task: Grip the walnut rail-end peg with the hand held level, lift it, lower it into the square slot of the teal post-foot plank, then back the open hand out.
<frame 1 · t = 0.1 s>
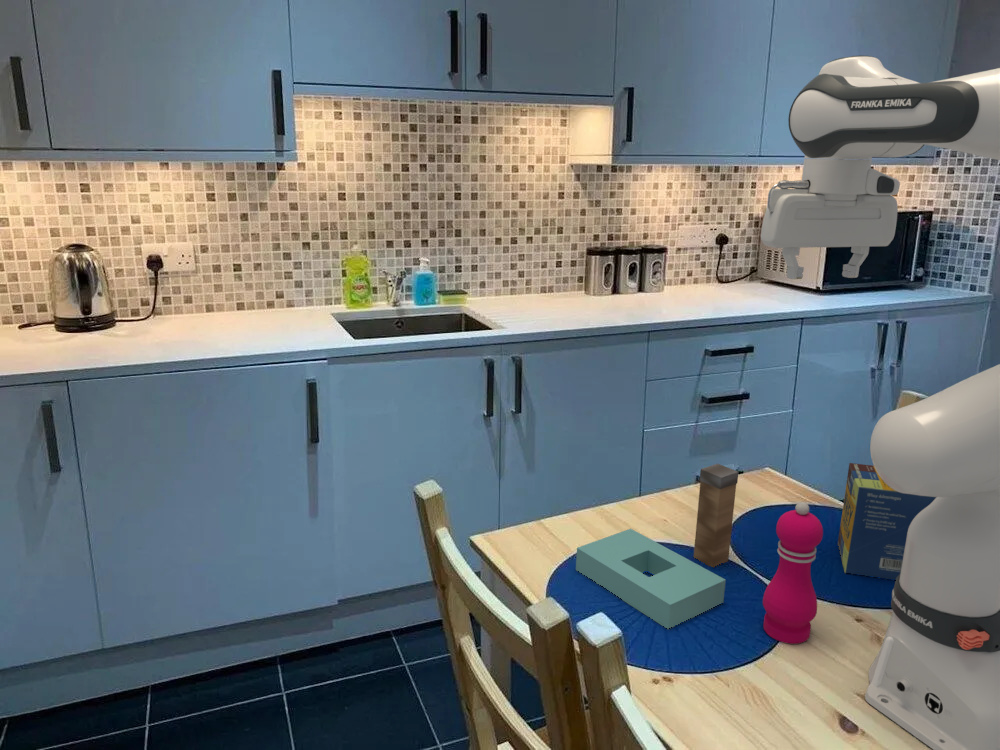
hand: (822, 278, 117), 48 cm above the table, tool pointing down, fingers open, 8 cm apart
protein box: (889, 567, 133), on the table
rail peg: (710, 559, 134), on the table
post foot: (646, 586, 125), on the table
pepper mill: (786, 632, 114), on the table
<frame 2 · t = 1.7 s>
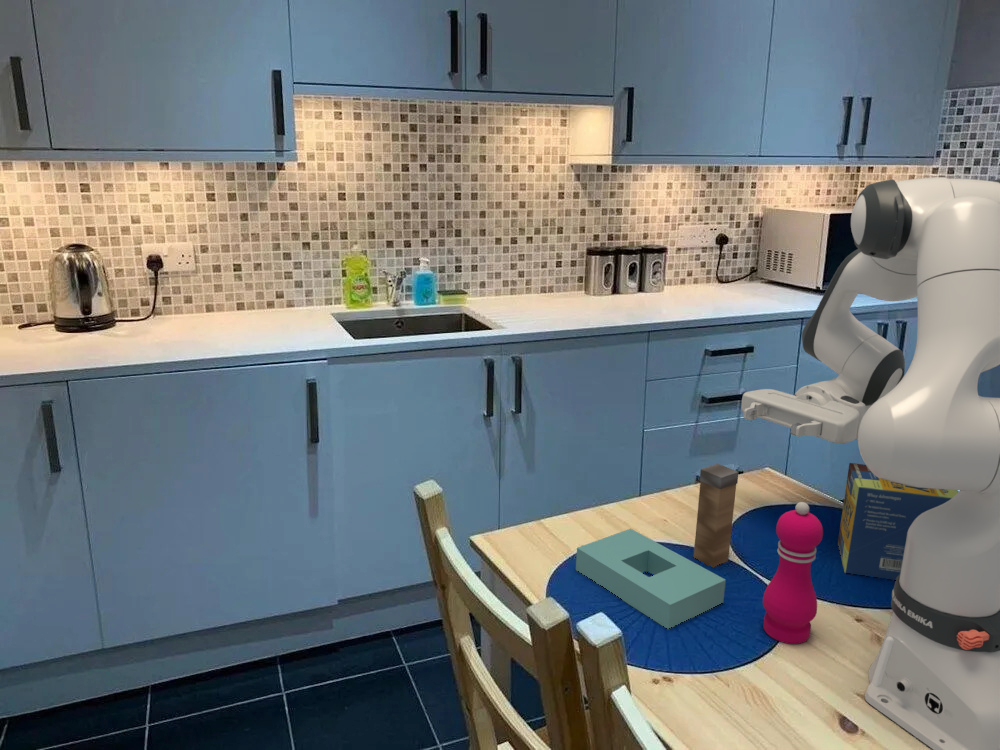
hand: (770, 422, 134), 22 cm above the table, tool horizontal, fingers open, 8 cm apart
nothing on the table moved.
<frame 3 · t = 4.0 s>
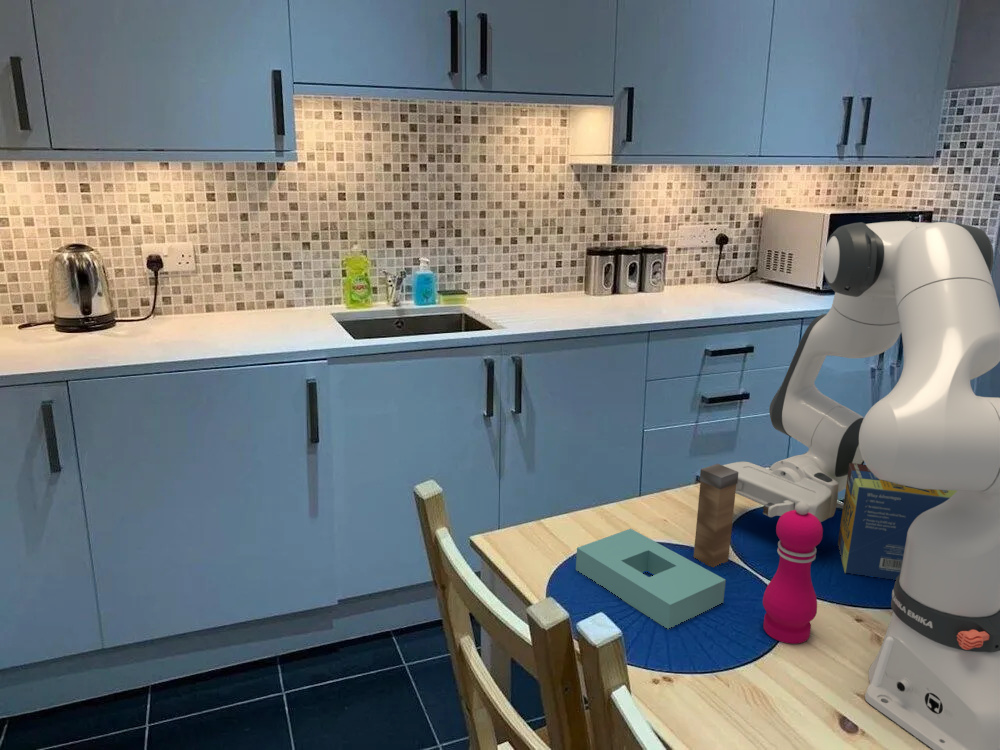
hand: (743, 501, 135), 9 cm above the table, tool horizontal, fingers open, 8 cm apart
nothing on the table moved.
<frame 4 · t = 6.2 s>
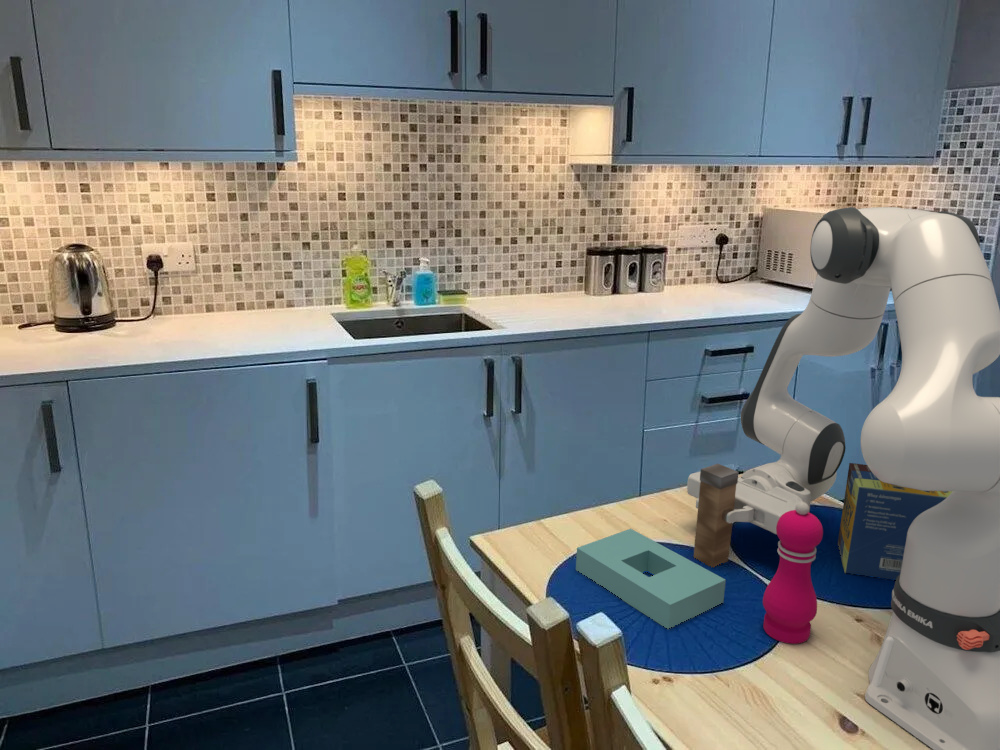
hand: (712, 511, 131), 9 cm above the table, tool horizontal, fingers closed on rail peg, 4 cm apart
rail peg: (710, 559, 134), on the table, touching gripper
everything else where it was.
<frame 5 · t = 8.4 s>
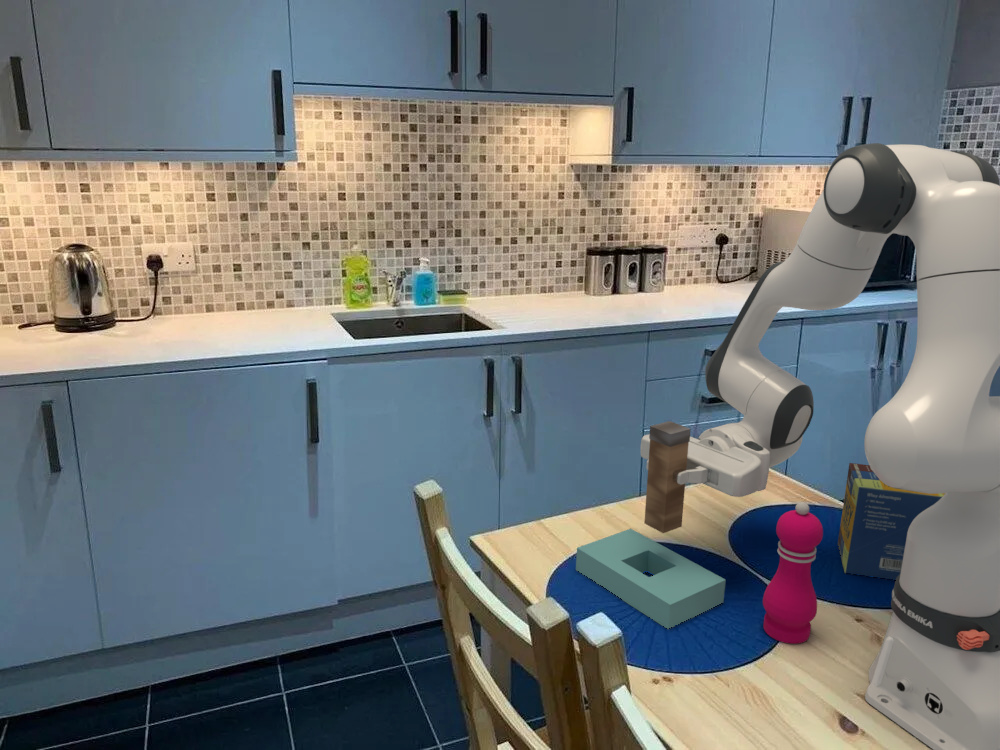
hand: (662, 472, 121), 19 cm above the table, tool horizontal, fingers closed on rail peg, 4 cm apart
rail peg: (662, 525, 124), point 10 cm above the table, touching gripper
everything else where it was.
when the fingers open (10 cm above the table, at t = 11.1 s): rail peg drops 1 cm, resting in post foot.
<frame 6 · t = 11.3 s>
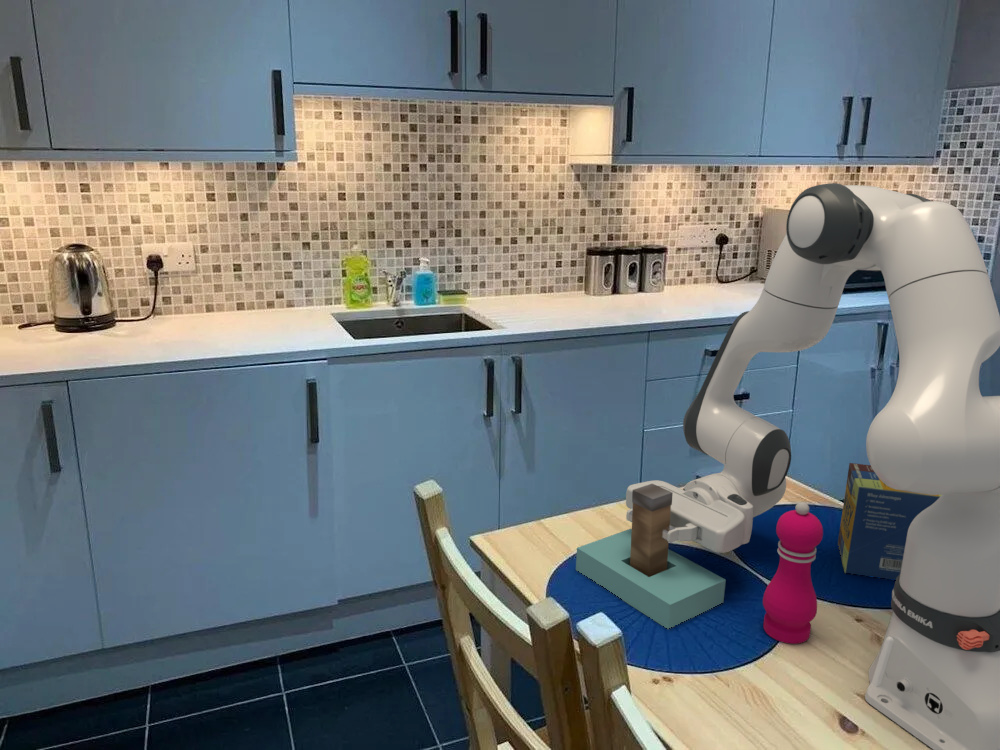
hand: (647, 526, 122), 10 cm above the table, tool horizontal, fingers open, 6 cm apart
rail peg: (647, 586, 125), resting in post foot
everything else where it was.
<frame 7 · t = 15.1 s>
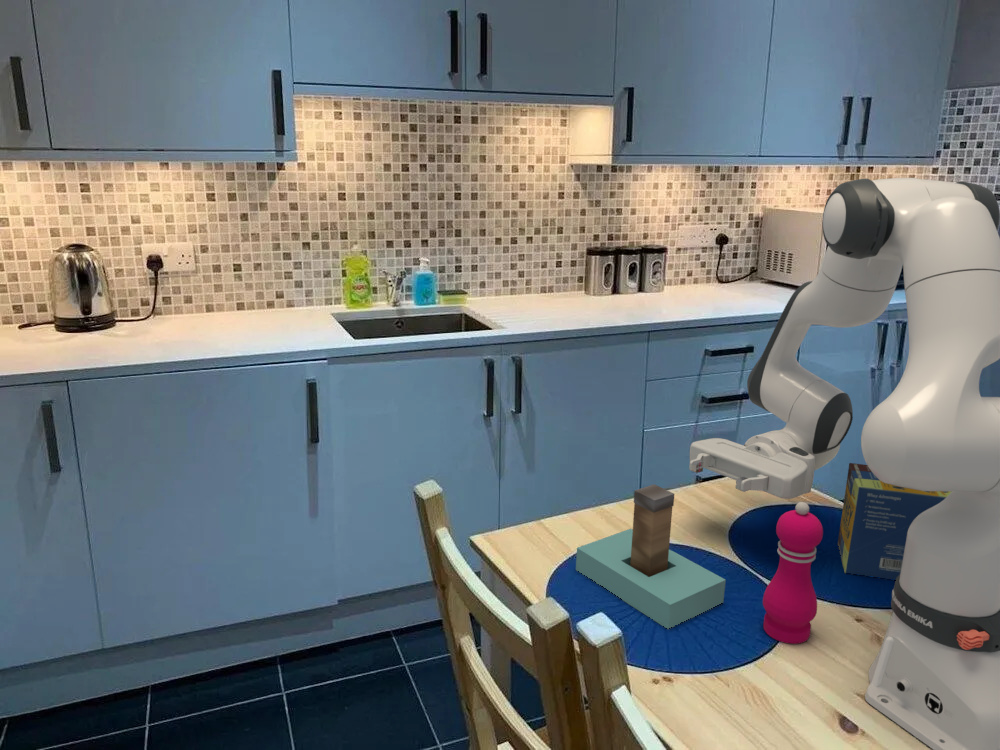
hand: (715, 476, 129), 15 cm above the table, tool horizontal, fingers open, 8 cm apart
nothing on the table moved.
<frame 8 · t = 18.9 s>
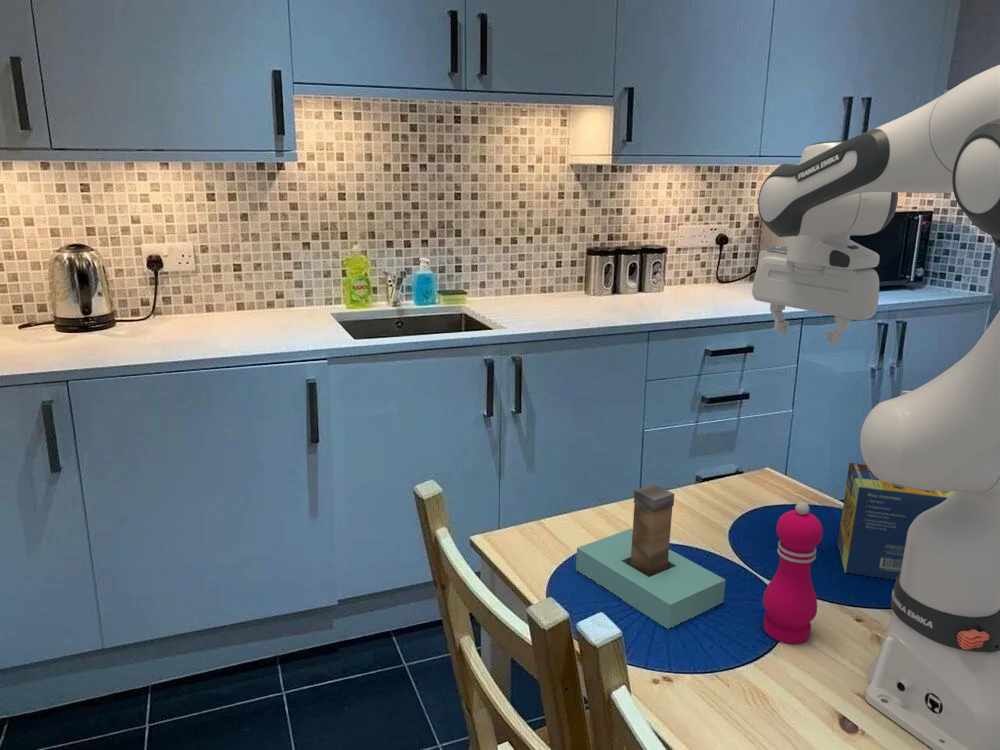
hand: (806, 337, 128), 37 cm above the table, tool pointing down, fingers open, 8 cm apart
nothing on the table moved.
at the end: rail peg 0.0 cm off-centre on the post foot, point 0.0 cm above the post foot's base; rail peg tilted 0°; the gripper is holding nothing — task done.
